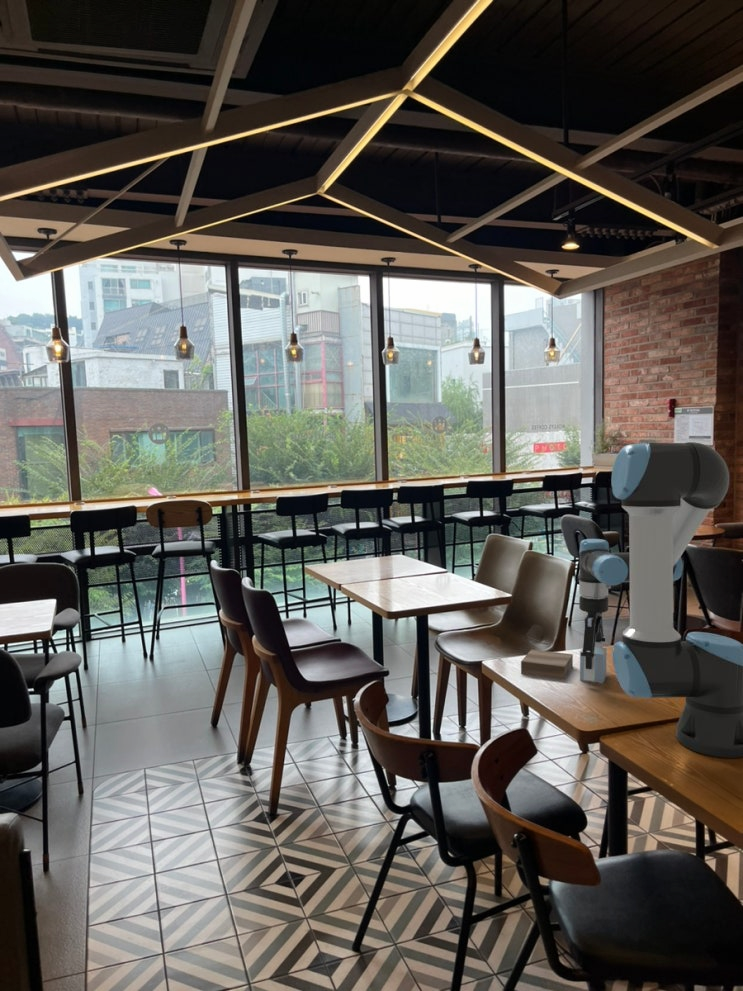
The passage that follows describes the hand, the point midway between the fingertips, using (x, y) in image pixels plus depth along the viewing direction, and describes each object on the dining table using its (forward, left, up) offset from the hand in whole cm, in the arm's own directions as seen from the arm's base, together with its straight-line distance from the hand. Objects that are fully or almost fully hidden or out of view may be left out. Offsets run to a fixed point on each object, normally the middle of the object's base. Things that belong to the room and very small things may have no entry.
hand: (593, 672), depth 190 cm
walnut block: (+2, +13, -2) cm, 13 cm away
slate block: (0, 0, -2) cm, 2 cm away
